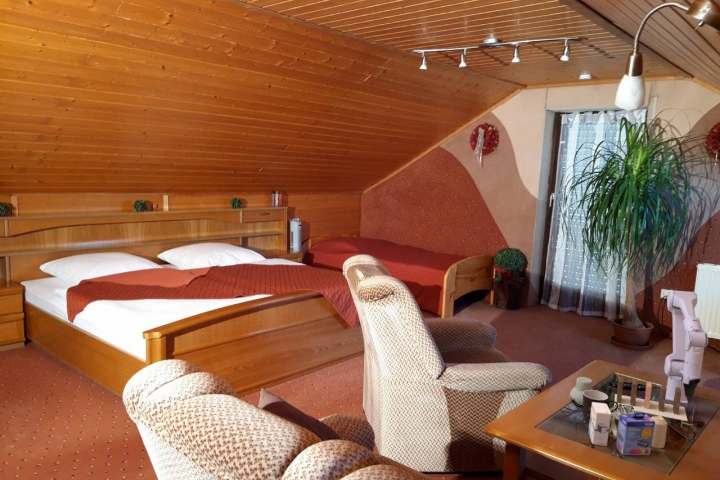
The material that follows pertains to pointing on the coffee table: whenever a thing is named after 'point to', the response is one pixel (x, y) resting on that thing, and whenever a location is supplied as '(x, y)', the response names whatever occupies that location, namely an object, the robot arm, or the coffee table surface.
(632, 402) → the tile
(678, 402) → the tile
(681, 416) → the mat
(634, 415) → the ink cartridge box
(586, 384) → the air freshener
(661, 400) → the tile
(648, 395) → the tile
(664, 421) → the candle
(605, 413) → the ink box
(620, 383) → the tile
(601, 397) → the coffee mug
